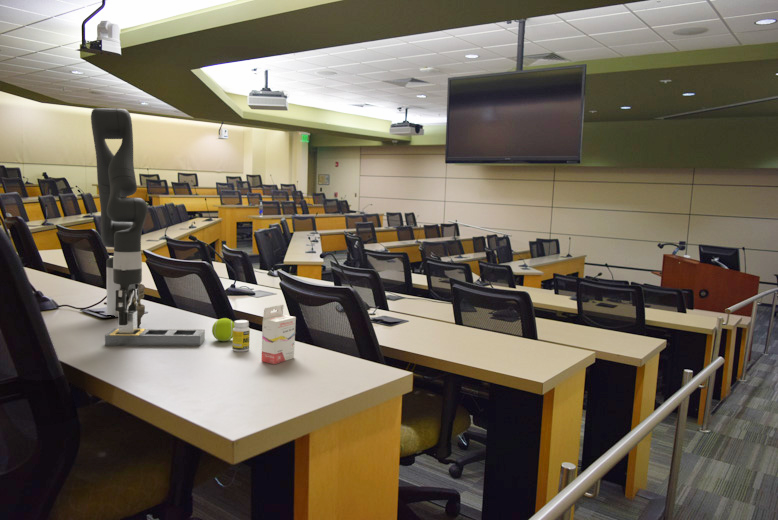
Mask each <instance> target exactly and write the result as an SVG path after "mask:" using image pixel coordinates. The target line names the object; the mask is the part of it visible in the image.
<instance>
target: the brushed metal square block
mask: <svg viewBox="0 0 778 520" xmlns="http://www.w3.org/2000/svg"><path fill="white" fill-rule="evenodd" d="M117 318H118V321H117V322H118V328H117V329H118V333H119V334H136V333H137V329H138V327H137V311H128V324H127V325H119V313H118V317H117Z"/></svg>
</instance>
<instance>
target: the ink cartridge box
mask: <svg viewBox="0 0 778 520" xmlns="http://www.w3.org/2000/svg"><path fill="white" fill-rule="evenodd" d="M284 307H285V306H284V304H283V303H282V304H280V305H279V304H278V305H273V306H268V307H264V310H263V314H262V315H263V317H262V329H261V330H262V332H261V334H262V335H261V337H262V338H261V362H264V363H268V364H272V365H277V364H280V363H283V362H286V361H289V360H291V359H294V358H295V347H296V346H295V343H296V342H295V340H296V320H297V317H296V316H291V315H286V314H283V313H284ZM274 310H275V311H274ZM272 311H274V312H272Z"/></svg>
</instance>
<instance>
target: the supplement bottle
mask: <svg viewBox="0 0 778 520" xmlns="http://www.w3.org/2000/svg"><path fill="white" fill-rule="evenodd" d="M233 322H234V326H235V327H234V328H233V338H232V351H233V352H236V353H237V352H239V353H241V352H242V353H243V352H247V351H250V334H251V333H250V331H251V330H250V327H249V326H250V323H249V320H246V319H237V320H234V321H233Z"/></svg>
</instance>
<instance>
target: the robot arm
mask: <svg viewBox="0 0 778 520" xmlns="http://www.w3.org/2000/svg"><path fill="white" fill-rule="evenodd" d="M90 122H91V123H90V124H91V132H92V137H93V143H94V151H95V157H96V159H95V160H96V175H97V176H96V178H97V189H98V196H99V197H98V198H99V204H100V232H101V234H100V235H101V242H102V244H103V246H104V247H106V248H113V250H114V251H113V256H111V257H109V258H107V259H106V260H105V262H106V263H105V265H106V315H107V314H109V315H114V316H115V317H114V318H118V313H119V325H127V324H128V311H136V306H137V304H138V303H139V283H141V284H142V281H143V274H142V273H143V267H142V266H143V263H142V262H143V258H142V232H143V230H144V225H145V221H146V218H147V215H148V208H149V207H148V203H147V202H146V201H145V200H144V199H143V198H141V197H130V196H133V195H134V194H136V193H137V189H138V185H137V179H136V172H135V167H134V135H133V134H134V133H133V123H132V122H133V121H132V117H131V113H130V112H129V111H128V109H126V108H117V107H116V108H114V107H112V108H107V107H95V108H93V109H92V111H91V115H90ZM106 140H121V143H120V146H119V148H118V150H117V151H116V153H115V154H113V152H112V151H111V150H110V148H109V145H107V142H106Z"/></svg>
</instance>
